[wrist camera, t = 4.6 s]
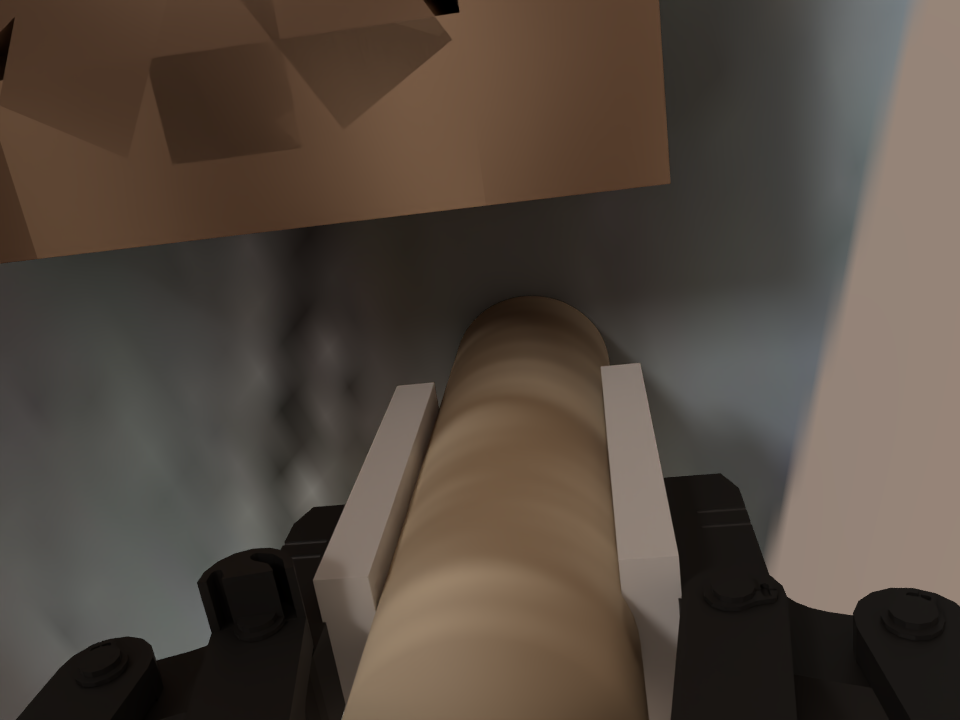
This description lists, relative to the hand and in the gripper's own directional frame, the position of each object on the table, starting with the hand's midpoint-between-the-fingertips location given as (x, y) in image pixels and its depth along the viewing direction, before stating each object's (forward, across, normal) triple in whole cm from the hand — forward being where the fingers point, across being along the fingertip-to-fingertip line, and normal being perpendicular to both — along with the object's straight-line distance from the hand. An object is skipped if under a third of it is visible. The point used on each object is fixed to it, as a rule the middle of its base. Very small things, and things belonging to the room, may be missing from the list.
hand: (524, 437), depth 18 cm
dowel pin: (+4, 0, 0) cm, 4 cm away
